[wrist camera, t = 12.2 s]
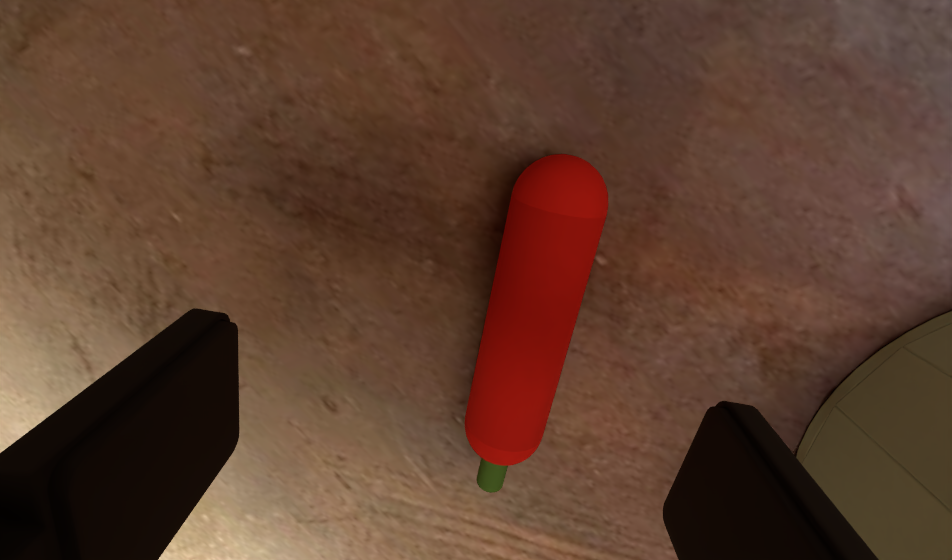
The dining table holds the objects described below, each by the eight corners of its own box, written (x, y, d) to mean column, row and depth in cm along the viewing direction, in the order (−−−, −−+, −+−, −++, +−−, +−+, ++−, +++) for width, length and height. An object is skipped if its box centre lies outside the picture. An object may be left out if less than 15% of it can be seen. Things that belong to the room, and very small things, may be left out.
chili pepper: (504, 144, 13) (603, 168, 12) (545, 144, 15) (631, 165, 14) (437, 485, 17) (503, 528, 16) (477, 445, 20) (537, 480, 18)
